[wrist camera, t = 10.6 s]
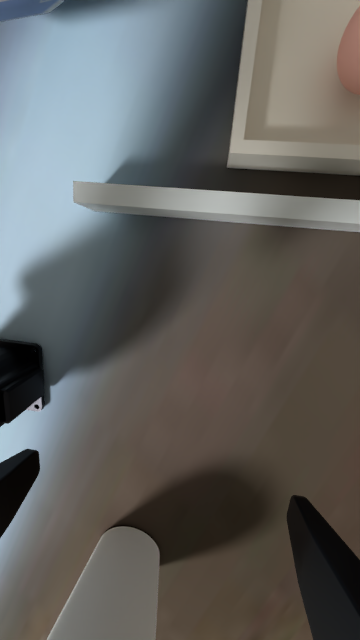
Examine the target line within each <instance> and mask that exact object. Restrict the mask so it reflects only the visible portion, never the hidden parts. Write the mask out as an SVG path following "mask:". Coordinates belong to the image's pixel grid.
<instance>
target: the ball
mask: <svg viewBox="0 0 360 640" xmlns="http://www.w3.org/2000/svg"><path fill="white" fill-rule="evenodd" d="M337 72H338V76H339V79H340V81H341V83H342V85H343V86H344V87H345V88H346V89H347V90H348V91H350V92H352V93H354V94H358V95H360V6H359V7H358V9H357V10H356V11H355V13H354V14H353V16H352V18H351V19H350V21H349V23H348V25H347V27H346V29H345V31H344V33H343V36H342V38H341V41H340V45H339V49H338V54H337Z"/></svg>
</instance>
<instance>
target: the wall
mask: <svg viewBox="0 0 360 640" xmlns="http://www.w3.org/2000/svg"><path fill="white" fill-rule="evenodd" d="M73 199H74V203H77V204H79V205H81V206H84V207H86V208H88V209H91V210H93V211H96V212H109V213H122V214H134V215H147V216H160V217H173V218H185V219H198V220H211V221H224V222H236V223H249V224H262V225H274V226H287V227H300V228H313V229H325V230H338V231H351V232H360V200H346V199H331V198H316V197H301V196H287V195H272V194H257V193H242V192H227V191H212V190H197V189H183V188H168V187H153V186H138V185H123V184H108V183H93V182H79V181H73Z"/></svg>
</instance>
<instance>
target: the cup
mask: <svg viewBox="0 0 360 640" xmlns="http://www.w3.org/2000/svg"><path fill="white" fill-rule="evenodd" d="M159 561H160V552H159V549H158V546H157V545H156V543H155V542H154V540H153V539H152V538H151V537H150V536H148V535H147V534H146V533H144V532H143V531H141V530H138V529H136V528H132V527H126V526H121V527H115V528H112V529H109V530H108V531H106V532H105V533H104V534H103V535H102V537H101V539H100V540H99V542H98V544H97V546H96V548H95V550H94V552H93V554H92V555H91V557H90V559H89V561H88V563H87V565H86V567H85V569H84V570H83V572H82V574H81V576H80V578H79V580H78V582H77V584H76V585H75V587H74V589H73V591H72V593H71V595H70V597H69V599H68V600H67V602H66V604H65V606H64V608H63V610H62V612H61V614H60V615H59V617H58V619H57V621H56V623H55V625H54V627H53V629H52V631H51V632H50V634H49V636H48V638H47V640H155V638H156V619H157V600H158V581H159Z"/></svg>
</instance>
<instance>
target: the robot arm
mask: <svg viewBox="0 0 360 640" xmlns="http://www.w3.org/2000/svg"><path fill="white" fill-rule="evenodd" d="M34 349H35V350H36V351H34ZM38 405H39V406H38ZM44 406H45V401H44V376H43V364H42V349H41V347H40V345H38V344H34V343H27V342H19V341H12V340H4V339H0V427H1V426H2V425H3V424H4V423H10V422H11V421H12V420H14V419H15V418H16V417H17V416H19V415H20V414H21V413H22V412H23V411H25V410H32V411H41V410H42V409H43V408H44ZM39 471H40V463H39V452H38V451H37V450H31V449H26V450H23V451H22V452H20V453H18V454H16V455H14V456H12V457H10V458H9V459H7V460H5V461H3V462H1V463H0V538H1V536H2V535H3V533H4V532H5V530H6V529H7V527H8V526H9V524H10V523H11V521H12V520H13V518H14V516H15V515H16V513H17V511H18V509H19V508H20V506H21V504H22V502H23V501H24V499H25V497H26V495H27V494H28V492H29V490H30V488H31V487H32V485H33V483H34V481H35V480H36V478H37V476H38V474H39ZM287 524H288V529H289V535H290V540H291V546H292V551H293V557H294V563H295V568H296V573H297V578H298V583H299V587H300V591H301V595H302V599H303V603H304V606H305V610H306V614H307V618H308V621H309V625H310V629H311V633H312V636H313V640H360V560H359V559H358V557H357V556H356V555H355V554H354V553H353V552H352V550H351V549H350V548H349V547H348V546H347V545H346V543H345V542H344V541H343V540H342V539H341V538H340V536H339V535H338V534H337V533H336V532H335V531H334V529H333V528H332V527H331V526H330V525H329V524H328V523H327V521H326V520H325V519H324V518H323V517H322V516H321V514H320V513H319V512H318V511H317V510H316V509H315V507H314V506H313V505H312V504H311V503H310V502H309V500H308V499H307V498H305V497H303V496H297V495H293V496H292V497H291V500H290V504H289V507H288V511H287Z"/></svg>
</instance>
